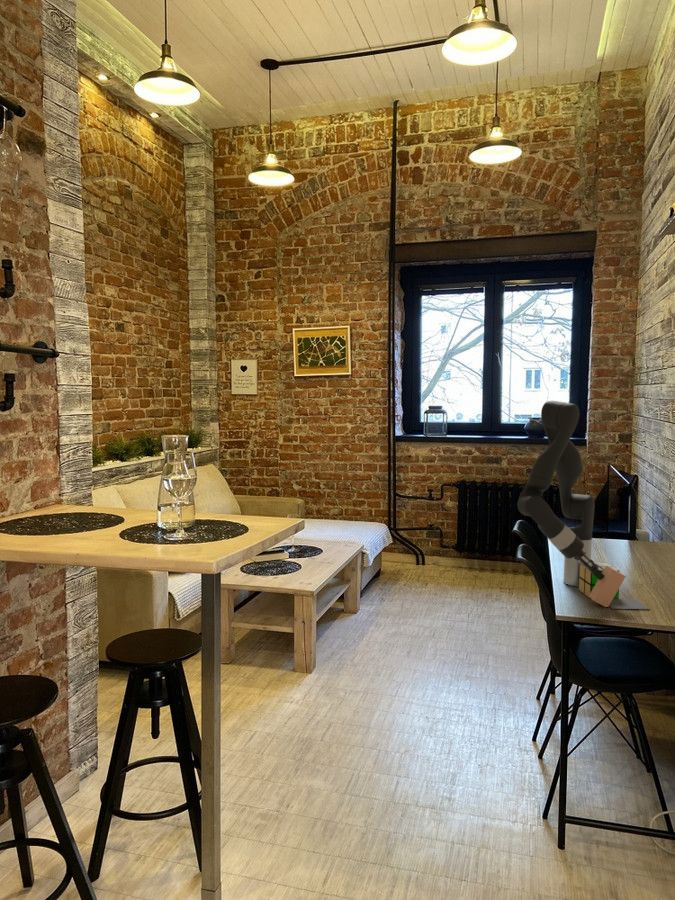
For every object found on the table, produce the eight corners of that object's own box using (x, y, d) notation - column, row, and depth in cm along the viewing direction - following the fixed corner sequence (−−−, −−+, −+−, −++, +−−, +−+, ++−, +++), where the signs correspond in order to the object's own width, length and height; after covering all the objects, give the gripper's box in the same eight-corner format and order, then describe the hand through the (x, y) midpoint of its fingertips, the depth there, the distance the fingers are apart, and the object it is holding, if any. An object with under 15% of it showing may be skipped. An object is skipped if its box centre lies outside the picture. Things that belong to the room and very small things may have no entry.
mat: (600, 599, 219) (600, 598, 219) (636, 600, 219) (636, 599, 219) (612, 609, 209) (612, 608, 209) (649, 610, 209) (649, 608, 209)
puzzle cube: (605, 590, 230) (607, 563, 229) (619, 599, 220) (620, 570, 219) (578, 590, 230) (579, 563, 229) (590, 599, 220) (591, 570, 219)
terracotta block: (588, 596, 215) (606, 565, 214) (601, 603, 215) (619, 572, 214) (594, 601, 210) (612, 569, 209) (607, 608, 210) (626, 576, 209)
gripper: (581, 537, 205) (618, 575, 205) (567, 528, 218) (602, 564, 219) (563, 553, 205) (600, 591, 206) (551, 544, 218) (586, 579, 219)
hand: (601, 577), depth 212 cm, fingers closed
